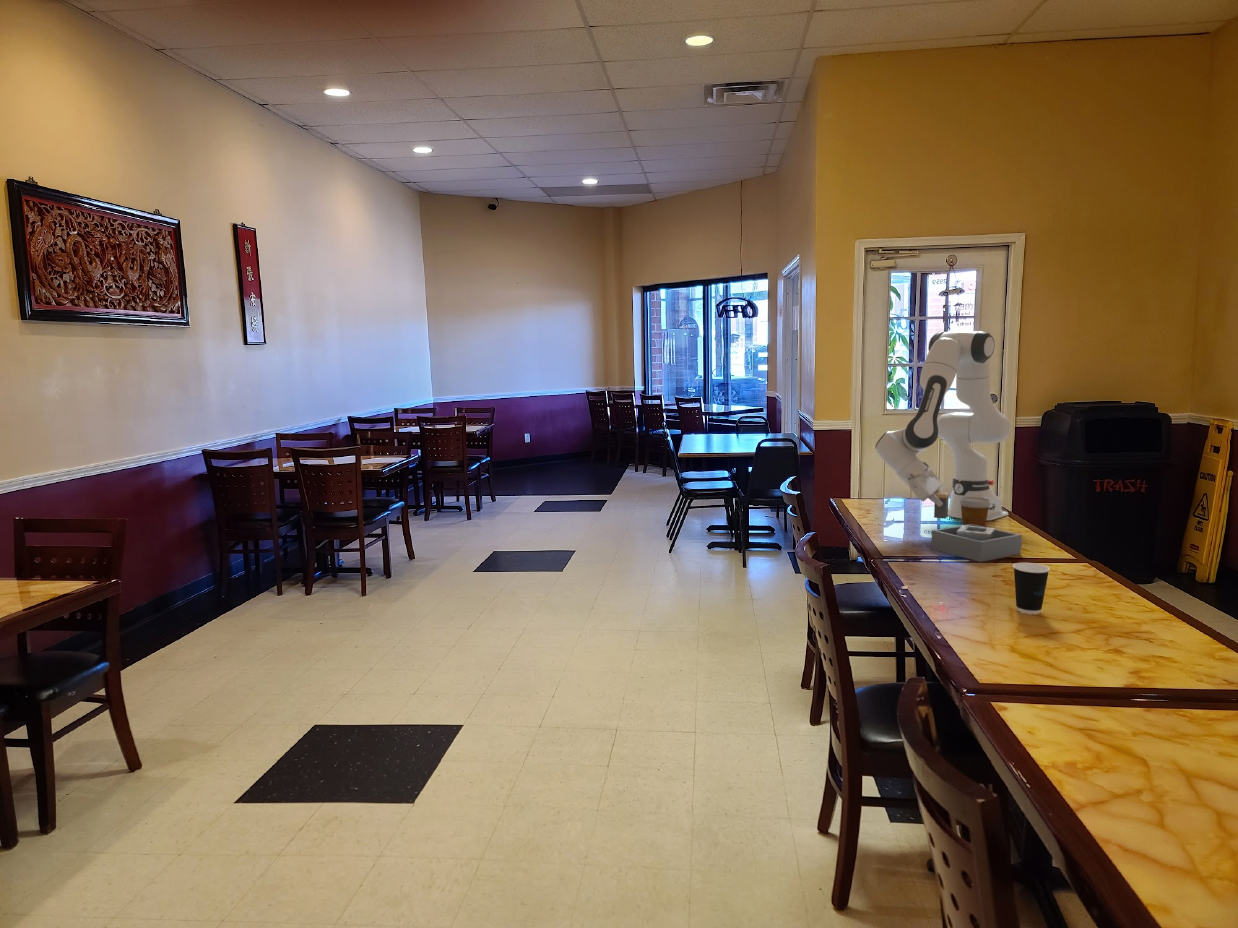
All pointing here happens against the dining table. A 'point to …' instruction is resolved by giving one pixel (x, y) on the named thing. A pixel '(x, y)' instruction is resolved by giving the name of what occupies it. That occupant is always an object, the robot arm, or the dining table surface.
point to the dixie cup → (1030, 586)
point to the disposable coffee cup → (974, 510)
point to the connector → (943, 509)
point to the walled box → (976, 544)
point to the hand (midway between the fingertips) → (943, 503)
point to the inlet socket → (976, 532)
